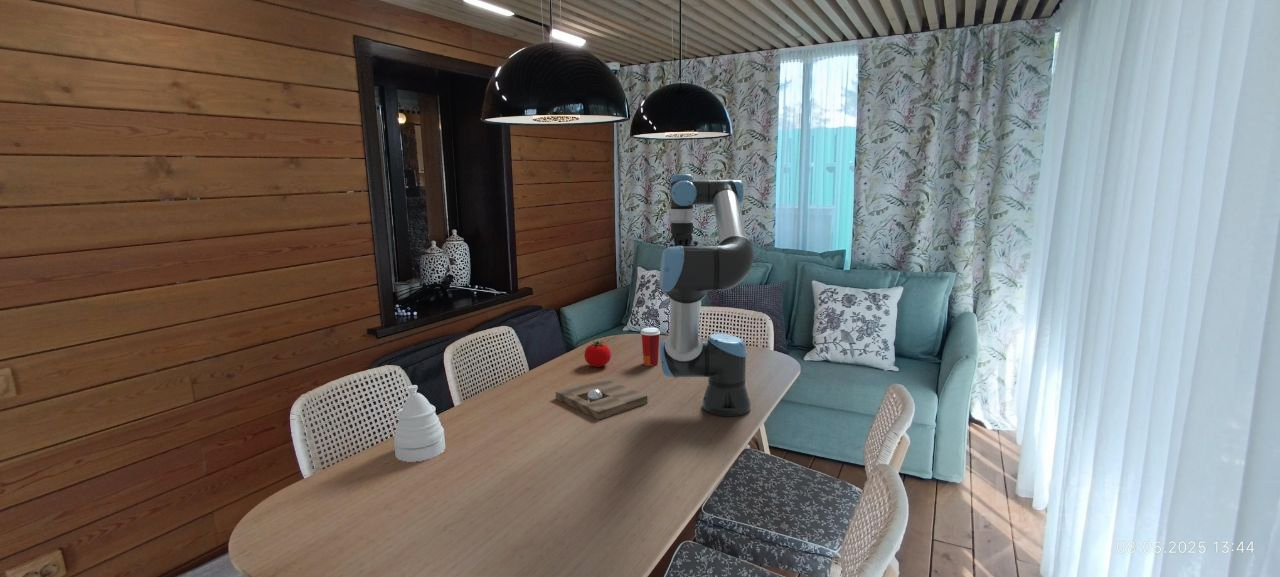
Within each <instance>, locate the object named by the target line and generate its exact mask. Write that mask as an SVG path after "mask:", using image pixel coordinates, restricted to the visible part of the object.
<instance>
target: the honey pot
mask: <svg viewBox="0 0 1280 577" xmlns="http://www.w3.org/2000/svg"><path fill="white" fill-rule="evenodd" d="M417 391H418V385H417V384H414V385H413V384H411V385H408V386H407V392H409V393H410V394H411V395H409V396H408V398H407V399H406V400H405V403H404V405H403V406H402V407H401V408H400V409H398V410H397V411H396V414H395V415H396V417H397V418H398V422H397V423H396V429H395V433H394V436H393V441H394V442H393V444H394V454H395V458H396V459H397V458H398V459H397V460H399V461H401V460H402V461H401V462H405V461H406V462H405V463H416V461H418V462H424V461H427V459H428V460H431V459H433V457H434V458H435V456H436V457H438V456H439V454H440V453H441V454H443V452H444V451H445V450H446V442H445V440H446V439H445V438H446V437H445V429H444V427H443V426H442V422H441V421H440V418H439V416H438V415H437V413H436V406H434V405H433V404H431V403H430V402H429V400H428V398H426V397H425V396H424V395H423V394H422V393H420V392H417ZM444 449H445V450H444ZM441 454H440V455H441ZM437 455H438V456H437ZM423 460H424V461H423Z"/></svg>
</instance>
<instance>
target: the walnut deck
mask: <svg viewBox="0 0 1280 577" xmlns="http://www.w3.org/2000/svg"><path fill="white" fill-rule="evenodd" d="M592 389H598V390H600V391H601V393H602V399H600V400H597V401H593V402H589V401H588V399H587V394H588V392H589V391H590V390H592ZM555 399H556V400H558V401H560V402H562V403H564V404H566V405H568V406H570V407H572V408H574V409H576V410H578V411H580V412H582V413H584V414H586V415H588V416H589V417H592V418H593V419H596V420H597V421H599V420H602V419H605V418H608V417H610V416H611V417H612V416H614V415H617V414H619V413H622V412H625V411H628V410H631V409H635V408H637V407H641V406H643V405H646V404H648V395H647V394H644V393H642V392H640V391H639V392H638V391H637V390H635V389H632V388H630V387H628V386H624V385H622V384H620V383H617V382H614V381H612V380H609V379H607V378H605V377H601V378H598V379H594V380H591V381H587V382H584V383H579V384H576V385H574V386H569V387H567V388H564V389H559V390H556V391H555Z"/></svg>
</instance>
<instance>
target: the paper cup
mask: <svg viewBox="0 0 1280 577" xmlns="http://www.w3.org/2000/svg"><path fill="white" fill-rule="evenodd" d="M639 334H640V335H641V345H642V346H641V347H642V359H643V365H644V366H646V367H655V366H658V364H659V354H660V334H661V331H660V328H657V327H645V328H642V329H641V331H640V333H639Z"/></svg>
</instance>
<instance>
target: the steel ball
mask: <svg viewBox="0 0 1280 577" xmlns="http://www.w3.org/2000/svg"><path fill="white" fill-rule="evenodd" d="M600 399H602V393H601V391H600V390H598V389H592V390H590V391H589V392H588V394H587V401H589V402H593V401H597V400H600Z"/></svg>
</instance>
